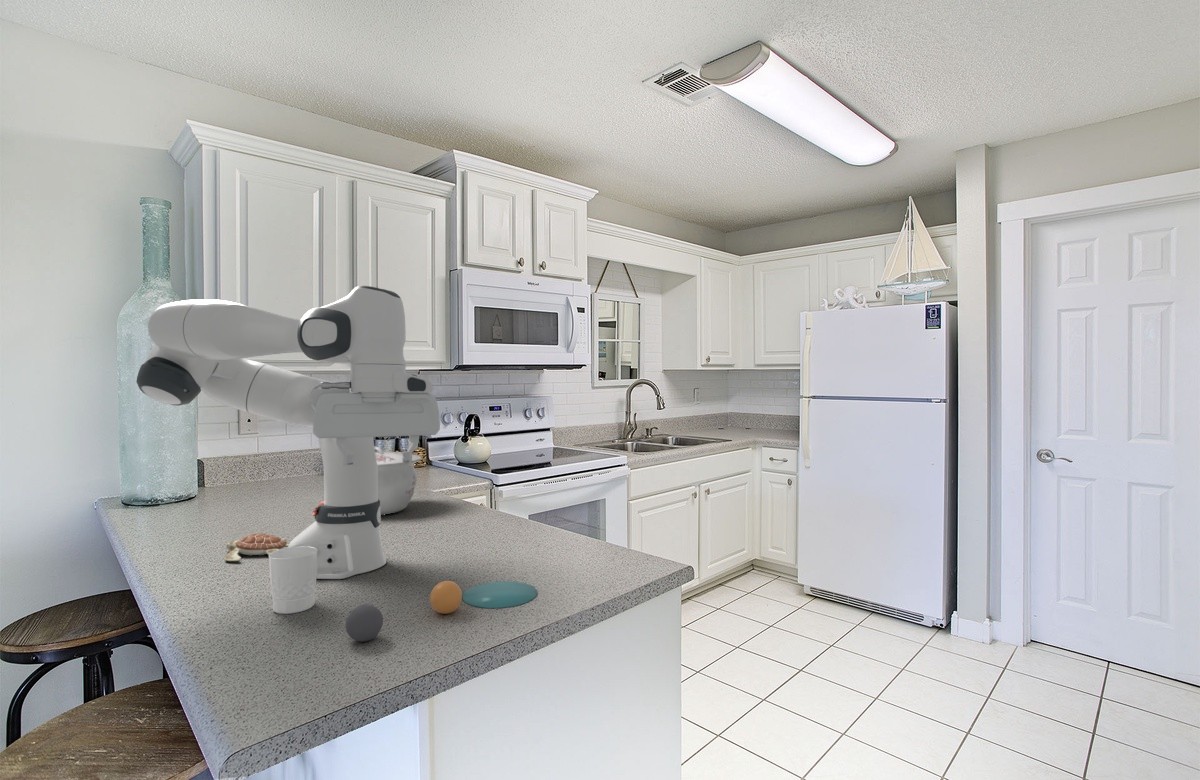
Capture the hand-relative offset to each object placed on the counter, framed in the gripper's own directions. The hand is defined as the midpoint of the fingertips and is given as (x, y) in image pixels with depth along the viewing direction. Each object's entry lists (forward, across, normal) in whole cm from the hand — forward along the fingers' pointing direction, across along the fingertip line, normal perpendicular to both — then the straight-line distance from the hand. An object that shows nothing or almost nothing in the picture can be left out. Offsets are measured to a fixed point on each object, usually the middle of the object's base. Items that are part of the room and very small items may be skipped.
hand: (378, 463), depth 103 cm
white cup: (+27, -14, +13) cm, 33 cm away
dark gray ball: (+24, -2, -8) cm, 25 cm away
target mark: (+26, +22, +4) cm, 35 cm away
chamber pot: (+26, +6, +93) cm, 96 cm away
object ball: (+24, +11, -1) cm, 26 cm away
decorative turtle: (+28, -23, +56) cm, 67 cm away
